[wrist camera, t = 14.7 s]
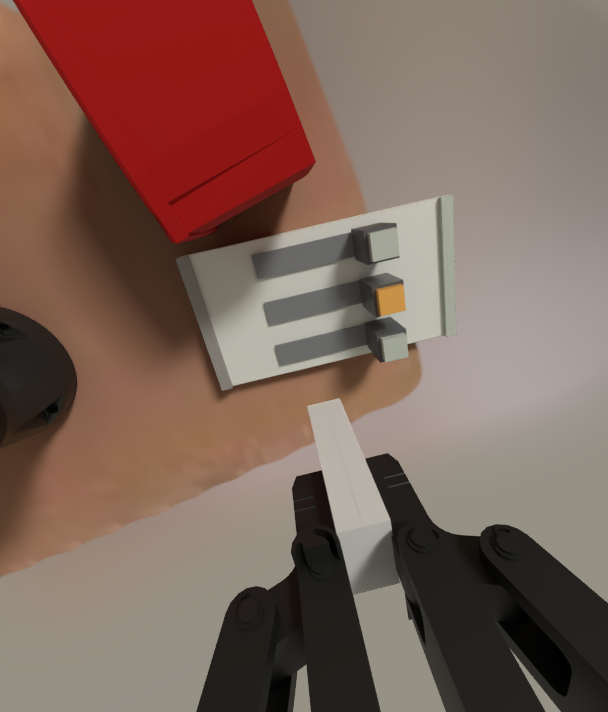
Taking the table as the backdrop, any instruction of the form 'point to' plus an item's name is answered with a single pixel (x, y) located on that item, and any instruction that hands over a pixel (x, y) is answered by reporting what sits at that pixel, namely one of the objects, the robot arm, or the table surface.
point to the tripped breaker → (382, 294)
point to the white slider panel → (323, 291)
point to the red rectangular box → (179, 101)
